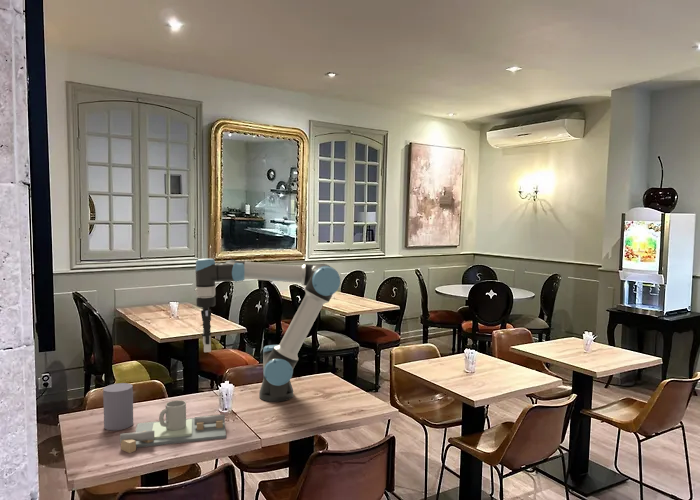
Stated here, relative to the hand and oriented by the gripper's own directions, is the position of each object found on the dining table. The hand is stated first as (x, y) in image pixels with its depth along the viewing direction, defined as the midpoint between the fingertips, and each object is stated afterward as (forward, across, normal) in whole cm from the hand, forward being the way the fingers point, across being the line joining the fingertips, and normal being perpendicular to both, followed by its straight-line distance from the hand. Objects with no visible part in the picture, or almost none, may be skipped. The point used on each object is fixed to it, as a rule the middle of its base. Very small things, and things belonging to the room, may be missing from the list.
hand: (206, 347), depth 219 cm
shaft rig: (+26, +21, -12) cm, 36 cm away
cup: (+25, +19, -14) cm, 34 cm away
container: (+26, +7, -33) cm, 43 cm away
